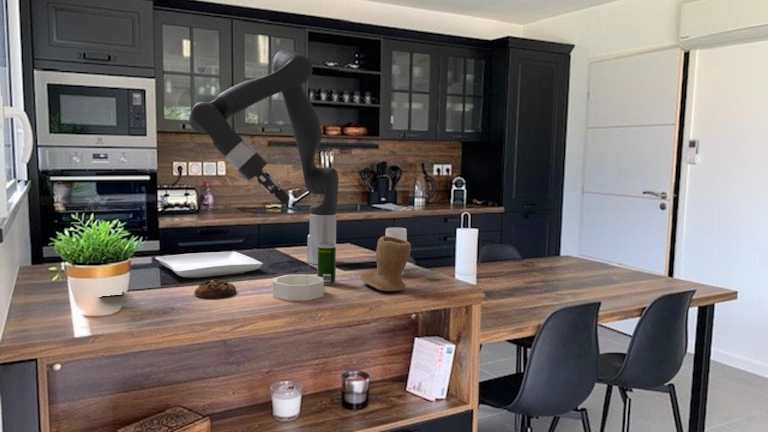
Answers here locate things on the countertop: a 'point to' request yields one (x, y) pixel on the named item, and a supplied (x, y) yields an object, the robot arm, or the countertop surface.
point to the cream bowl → (298, 287)
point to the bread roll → (215, 289)
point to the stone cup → (389, 264)
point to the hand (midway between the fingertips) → (287, 200)
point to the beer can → (326, 262)
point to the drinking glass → (397, 234)
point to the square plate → (209, 264)
